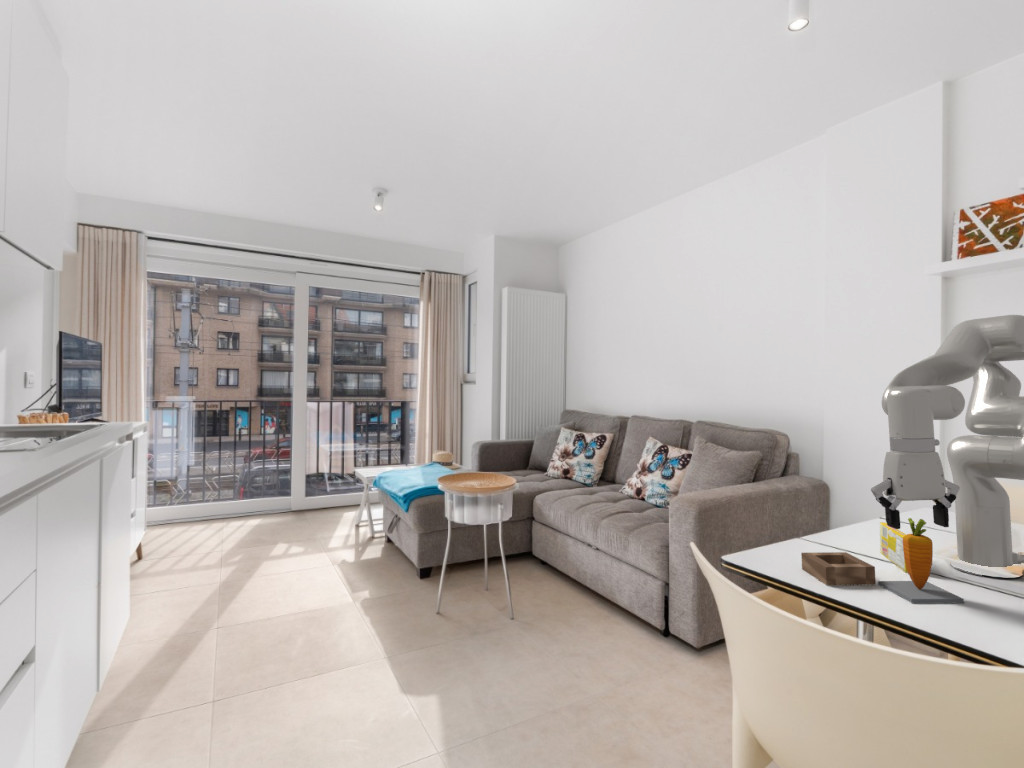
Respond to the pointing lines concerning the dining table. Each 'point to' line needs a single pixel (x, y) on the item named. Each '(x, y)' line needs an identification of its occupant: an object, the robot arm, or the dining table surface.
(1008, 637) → the dining table surface
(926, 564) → the carrot
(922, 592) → the rubber mat
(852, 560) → the walnut collar
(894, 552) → the candy box
